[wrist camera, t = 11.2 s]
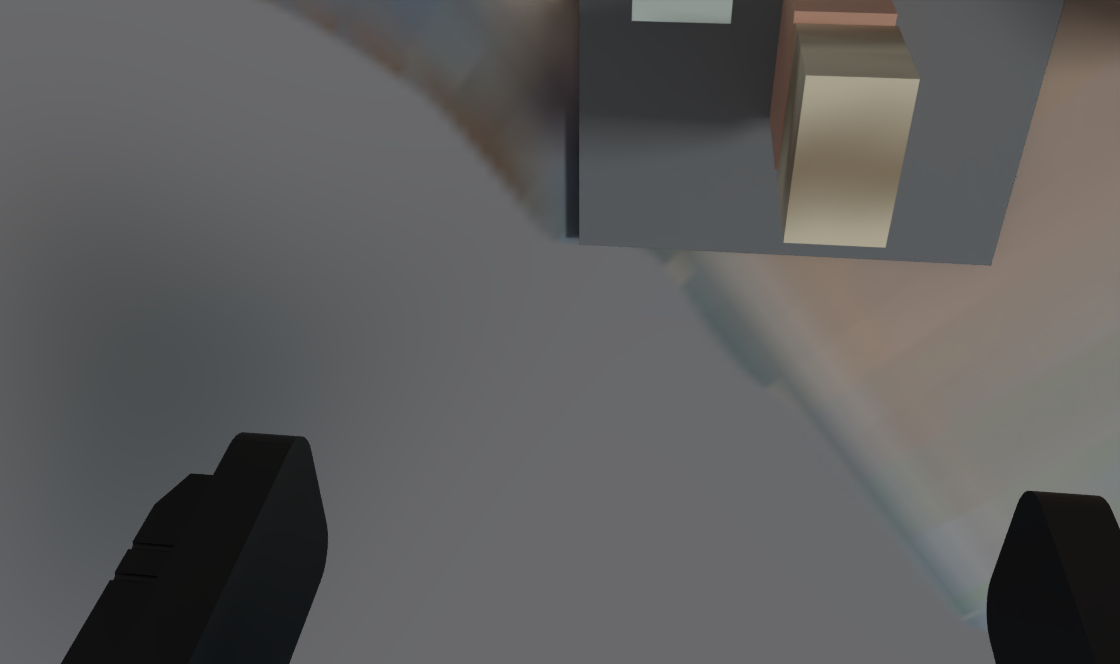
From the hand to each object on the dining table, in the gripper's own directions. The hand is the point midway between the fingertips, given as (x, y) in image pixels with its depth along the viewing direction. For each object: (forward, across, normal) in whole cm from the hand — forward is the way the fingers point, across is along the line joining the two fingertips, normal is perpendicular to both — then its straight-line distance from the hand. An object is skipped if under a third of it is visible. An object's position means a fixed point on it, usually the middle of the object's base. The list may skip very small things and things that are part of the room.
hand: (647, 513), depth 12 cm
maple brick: (+27, -6, +7) cm, 28 cm away
